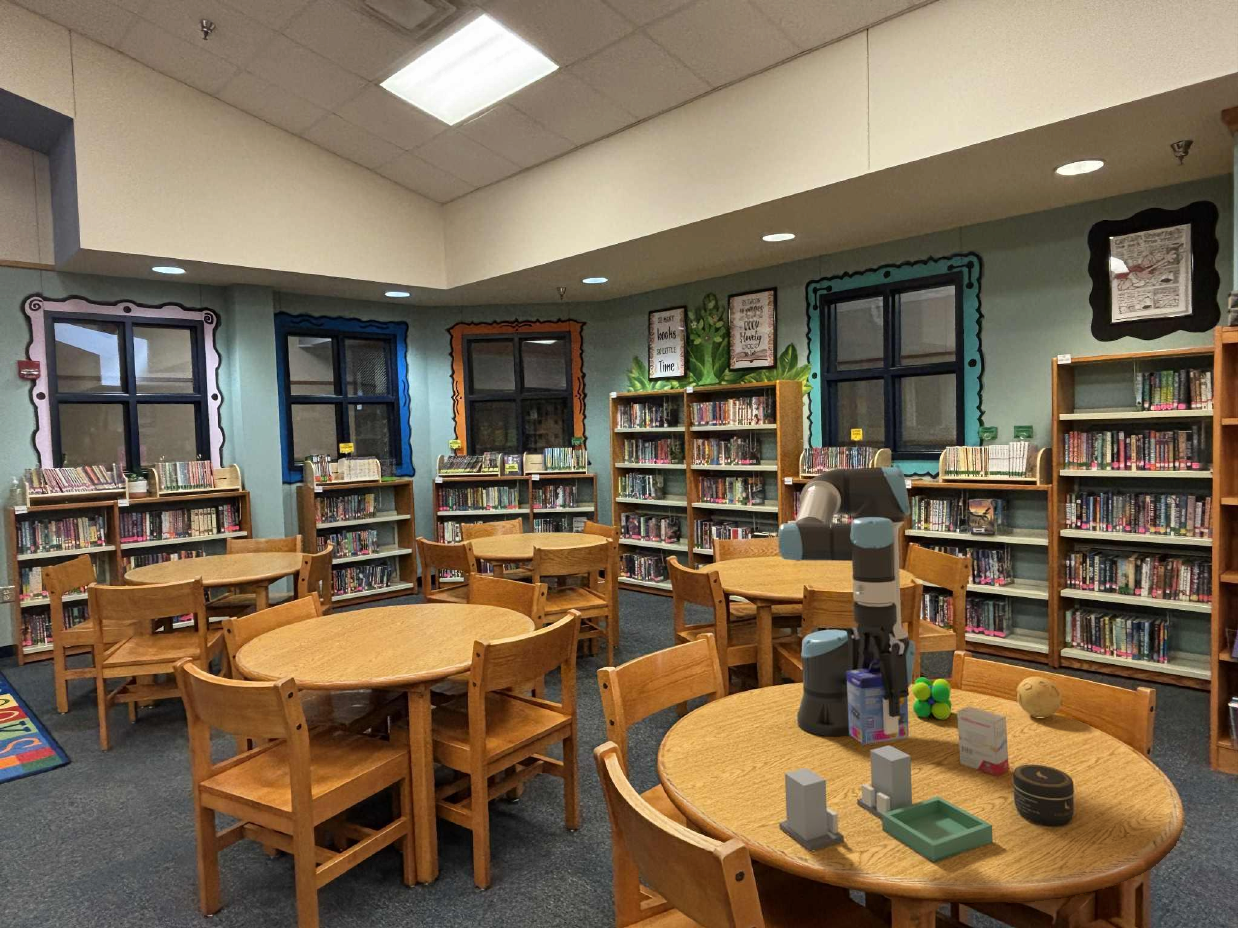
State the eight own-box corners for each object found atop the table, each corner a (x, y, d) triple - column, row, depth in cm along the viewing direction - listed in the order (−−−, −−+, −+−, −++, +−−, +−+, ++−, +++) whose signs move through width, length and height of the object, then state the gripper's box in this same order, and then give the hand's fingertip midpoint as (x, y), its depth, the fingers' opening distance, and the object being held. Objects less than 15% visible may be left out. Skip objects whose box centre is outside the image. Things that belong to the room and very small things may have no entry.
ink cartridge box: (864, 745, 131) (859, 665, 131) (847, 735, 137) (843, 657, 137) (911, 738, 134) (907, 659, 134) (893, 728, 139) (889, 652, 139)
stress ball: (1026, 711, 190) (1000, 690, 188) (1052, 683, 189) (1026, 661, 187) (1051, 732, 180) (1023, 710, 179) (1078, 703, 179) (1051, 680, 178)
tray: (882, 829, 135) (881, 813, 135) (938, 811, 141) (937, 796, 141) (934, 862, 124) (933, 845, 124) (992, 841, 130) (992, 824, 130)
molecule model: (912, 718, 187) (950, 723, 183) (911, 684, 186) (949, 688, 182) (915, 706, 194) (952, 710, 190) (914, 674, 194) (951, 677, 190)
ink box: (1010, 770, 156) (1008, 716, 156) (997, 777, 153) (995, 722, 153) (971, 757, 163) (969, 704, 163) (958, 763, 160) (956, 710, 160)
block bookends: (779, 827, 137) (777, 770, 137) (886, 795, 148) (884, 741, 147) (810, 851, 129) (807, 790, 129) (921, 815, 140) (919, 758, 139)
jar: (1050, 834, 131) (1049, 792, 131) (1001, 809, 140) (1000, 770, 140) (1087, 820, 135) (1086, 779, 135) (1037, 797, 144) (1036, 759, 144)
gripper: (825, 595, 142) (829, 713, 143) (895, 614, 125) (899, 748, 125) (856, 591, 145) (860, 706, 145) (929, 609, 127) (933, 740, 128)
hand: (878, 726), depth 135 cm, fingers closed on ink cartridge box, 6 cm apart
